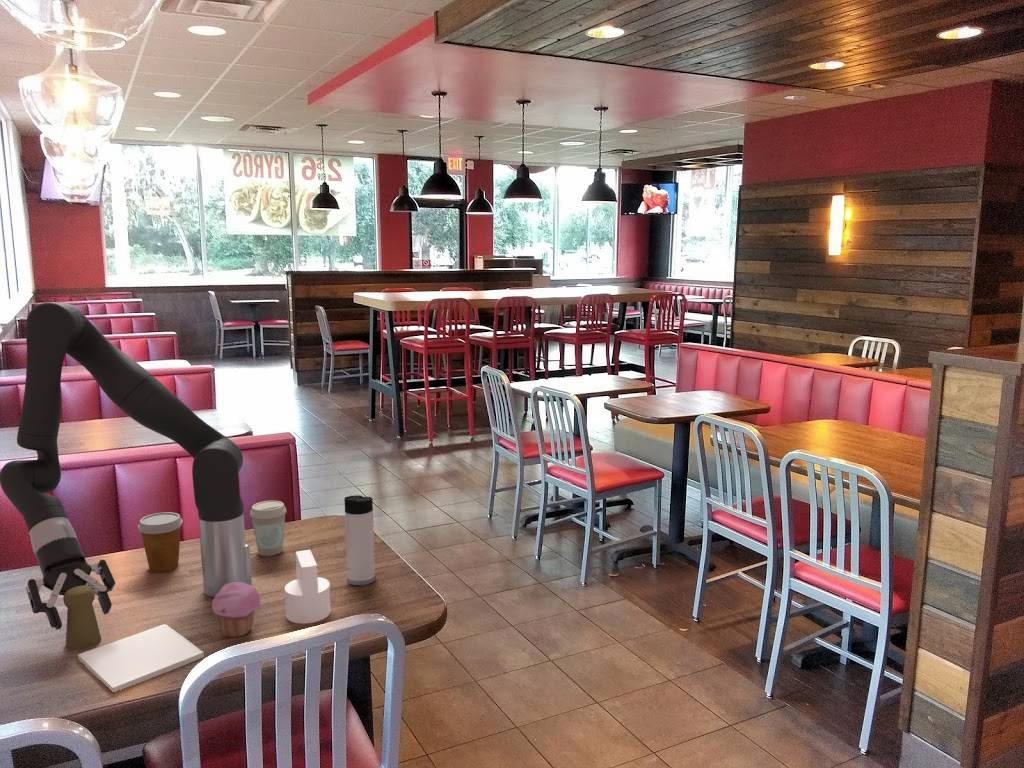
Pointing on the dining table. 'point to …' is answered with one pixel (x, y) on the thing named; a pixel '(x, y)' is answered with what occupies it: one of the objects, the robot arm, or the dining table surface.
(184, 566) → the dining table surface
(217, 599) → the cupcake
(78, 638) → the cork
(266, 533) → the coffee cup
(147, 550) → the disposable coffee cup
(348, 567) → the travel mug
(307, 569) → the cylinder with rectangular tab
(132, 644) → the white mat
